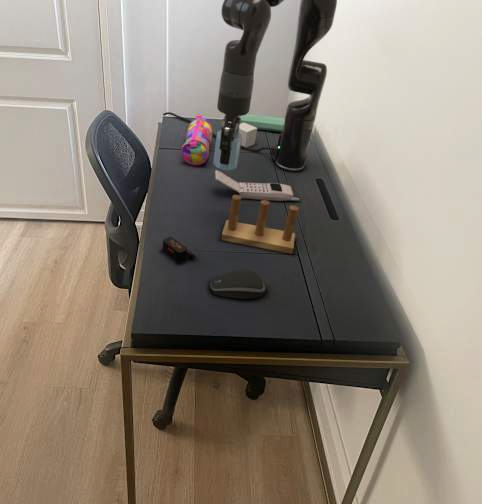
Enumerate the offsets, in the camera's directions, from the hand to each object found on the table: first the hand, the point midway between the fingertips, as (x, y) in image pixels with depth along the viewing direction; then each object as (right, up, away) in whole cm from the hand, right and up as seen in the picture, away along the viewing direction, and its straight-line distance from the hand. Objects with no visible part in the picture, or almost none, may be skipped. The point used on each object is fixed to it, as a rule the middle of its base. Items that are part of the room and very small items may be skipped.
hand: (226, 157), depth 122 cm
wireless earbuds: (-12, -24, -5) cm, 28 cm away
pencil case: (-8, +9, +42) cm, 44 cm away
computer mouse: (+2, -32, -13) cm, 34 cm away
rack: (+8, -20, +4) cm, 22 cm away
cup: (0, -1, +1) cm, 2 cm away
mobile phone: (+9, -7, +22) cm, 25 cm away
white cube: (+8, +15, +52) cm, 55 cm away
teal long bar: (+16, +23, +64) cm, 70 cm away
